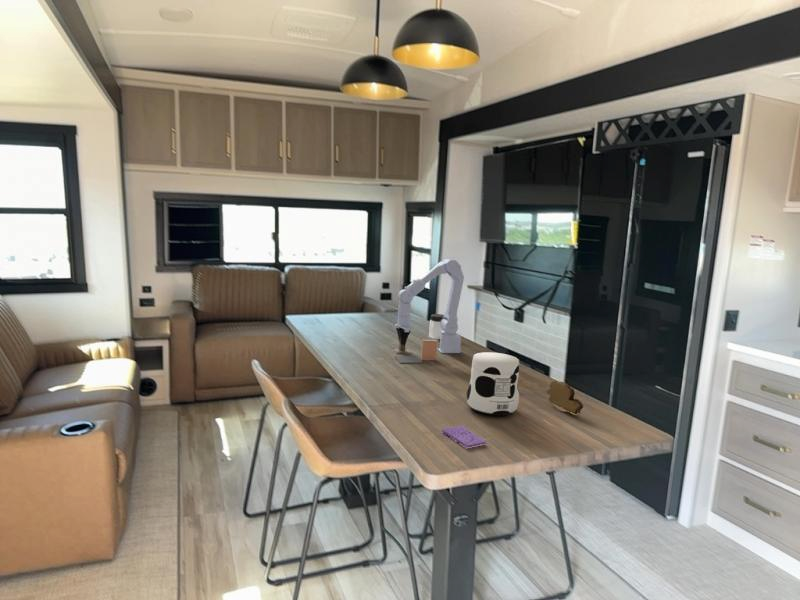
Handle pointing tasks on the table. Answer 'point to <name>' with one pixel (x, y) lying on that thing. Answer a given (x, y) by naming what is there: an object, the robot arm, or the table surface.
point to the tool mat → (408, 360)
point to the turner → (402, 349)
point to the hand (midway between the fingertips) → (402, 344)
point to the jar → (435, 326)
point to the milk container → (494, 384)
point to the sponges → (463, 436)
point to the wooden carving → (564, 397)
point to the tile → (429, 349)
